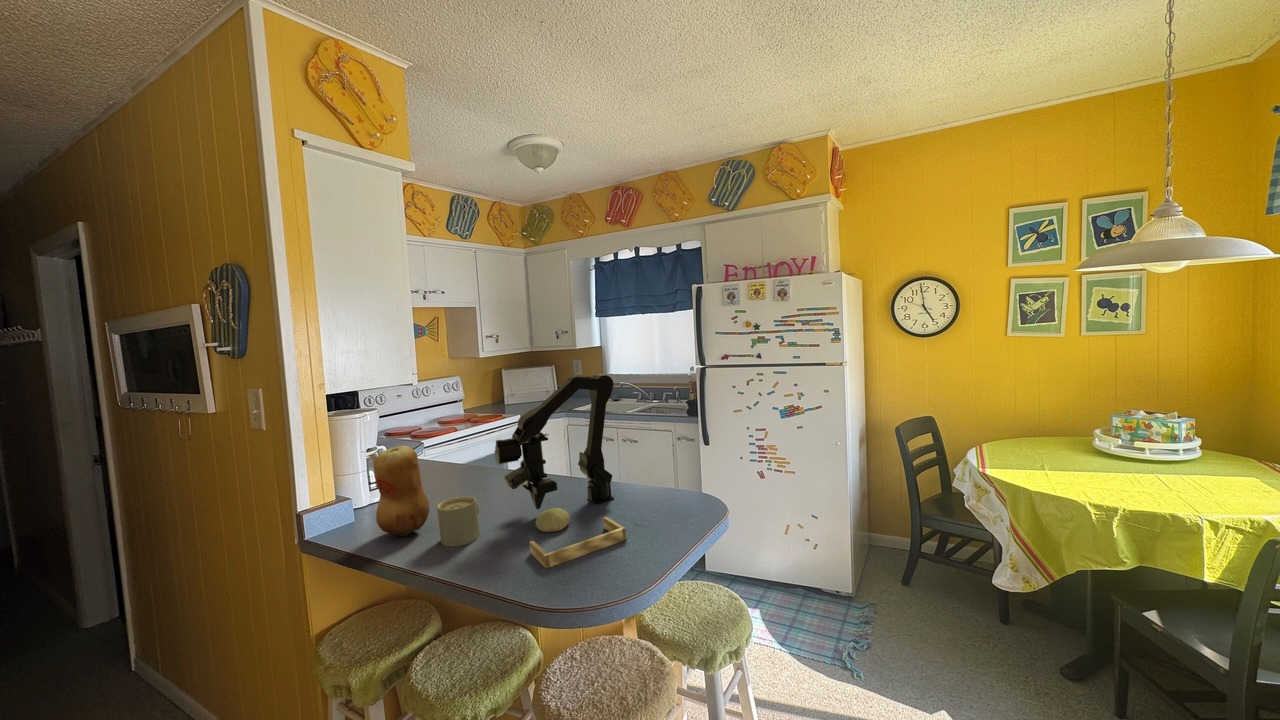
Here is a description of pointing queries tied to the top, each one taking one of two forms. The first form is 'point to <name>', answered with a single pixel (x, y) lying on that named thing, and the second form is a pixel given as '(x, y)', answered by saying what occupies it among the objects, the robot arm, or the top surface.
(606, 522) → the box
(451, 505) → the coffee mug
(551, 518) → the sea urchin shell
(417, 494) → the butternut squash
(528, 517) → the top surface
